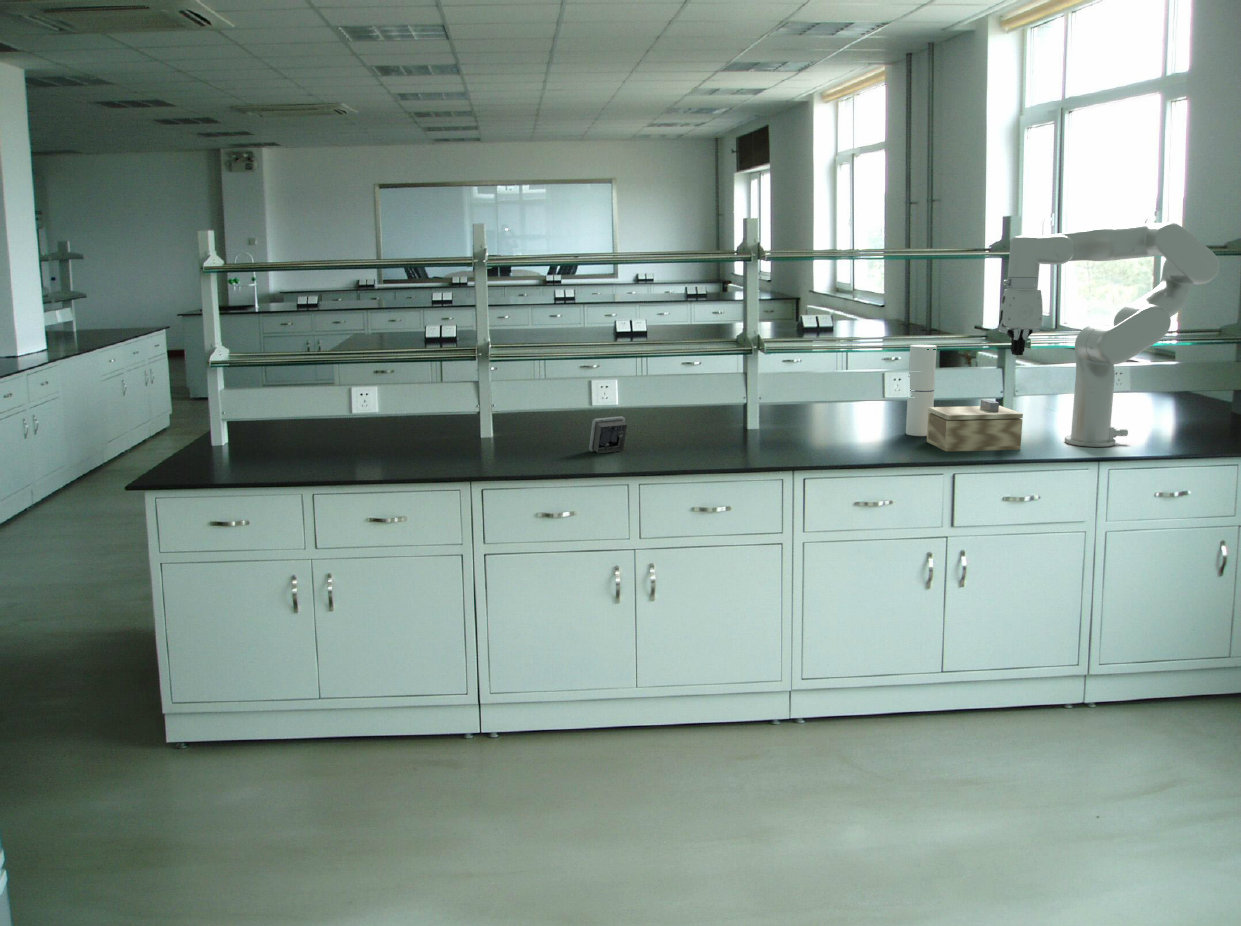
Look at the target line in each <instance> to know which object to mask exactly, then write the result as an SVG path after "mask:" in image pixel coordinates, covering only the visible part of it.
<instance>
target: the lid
mask: <svg viewBox="0 0 1241 926" xmlns="http://www.w3.org/2000/svg"><path fill="white" fill-rule="evenodd" d="M928 412H930V413H933V414H935V415H937V416H940V417H942V418H944V419H947V420H970V419H1013V418H1020V419H1024V418H1023V417H1024V413H1023V412H1019V411H1016V410H1014V409H1010V408H1008V407H1004V406H1002V405H1000V403H999V402H998V401H995V400H993V399H990V398H989V399H988V398H987V399H980V405H977V406H976V405H975V406H974V405H972V406H970V405H969V406H968V405H967V406H933V407H928Z"/></svg>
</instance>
